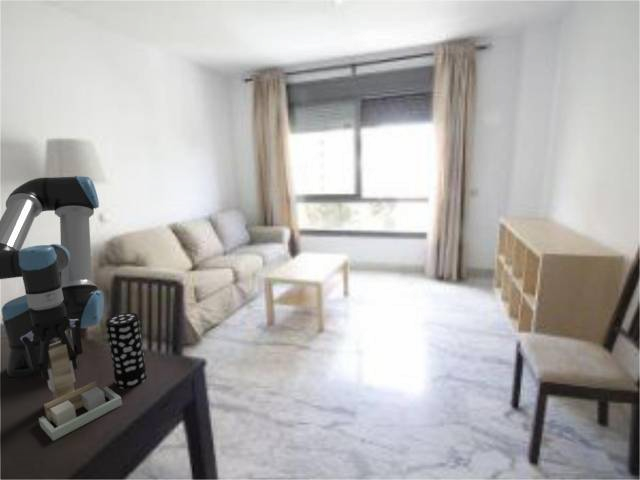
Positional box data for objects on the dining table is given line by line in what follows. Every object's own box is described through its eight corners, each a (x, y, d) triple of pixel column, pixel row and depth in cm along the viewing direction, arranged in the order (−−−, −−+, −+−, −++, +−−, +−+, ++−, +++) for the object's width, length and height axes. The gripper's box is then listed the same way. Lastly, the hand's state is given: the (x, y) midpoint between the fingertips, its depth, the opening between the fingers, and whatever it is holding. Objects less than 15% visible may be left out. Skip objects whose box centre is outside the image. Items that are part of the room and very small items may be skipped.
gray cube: (83, 407, 99) (81, 394, 98) (99, 399, 102) (97, 386, 101) (89, 412, 96) (87, 399, 96) (105, 404, 100) (103, 391, 99)
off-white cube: (52, 422, 93) (49, 408, 92) (70, 413, 96) (67, 400, 96) (58, 428, 91) (56, 414, 90) (76, 419, 94) (74, 405, 93)
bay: (40, 427, 92) (38, 418, 91) (107, 394, 104) (106, 386, 104) (53, 441, 87) (51, 432, 86) (122, 405, 99) (121, 397, 99)
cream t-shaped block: (36, 407, 99) (25, 353, 95) (85, 385, 108) (76, 335, 105) (50, 422, 93) (38, 364, 89) (100, 397, 102) (91, 344, 99)
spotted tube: (134, 390, 105) (124, 325, 101) (109, 387, 107) (98, 323, 103) (152, 374, 113) (144, 313, 109) (129, 371, 115) (120, 312, 111)
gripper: (10, 319, 87) (29, 406, 92) (88, 297, 101) (101, 374, 106) (1, 312, 92) (19, 396, 97) (77, 292, 105) (90, 366, 110)
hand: (62, 384), depth 101 cm, fingers closed on cream t-shaped block, 4 cm apart
